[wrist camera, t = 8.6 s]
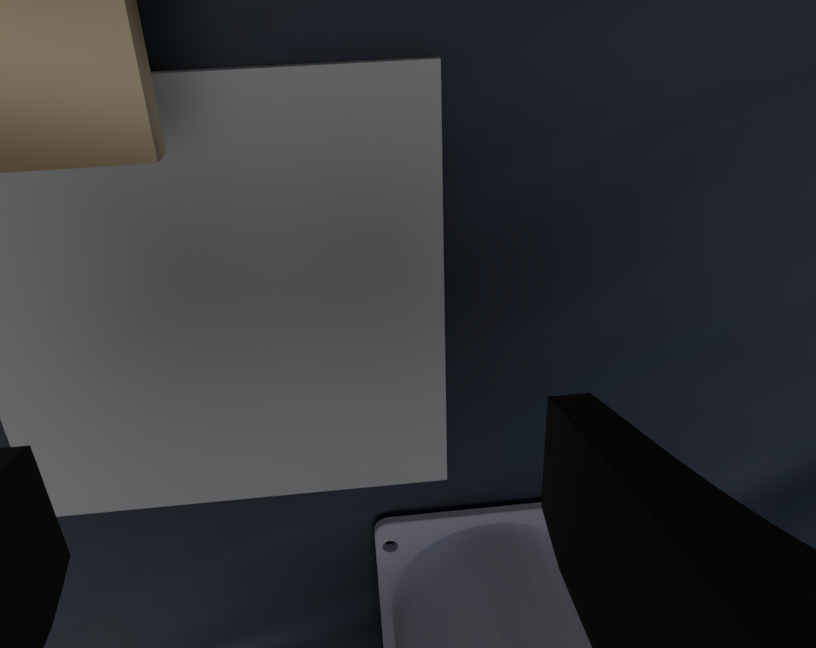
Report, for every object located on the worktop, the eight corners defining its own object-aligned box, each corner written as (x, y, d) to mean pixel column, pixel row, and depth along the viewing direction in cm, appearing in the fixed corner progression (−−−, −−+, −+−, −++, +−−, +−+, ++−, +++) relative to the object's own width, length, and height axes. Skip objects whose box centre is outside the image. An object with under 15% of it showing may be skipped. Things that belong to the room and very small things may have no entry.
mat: (445, 471, 23) (447, 479, 23) (41, 509, 23) (37, 518, 22) (438, 56, 17) (440, 58, 17) (-113, 85, 17) (-123, 88, 16)
